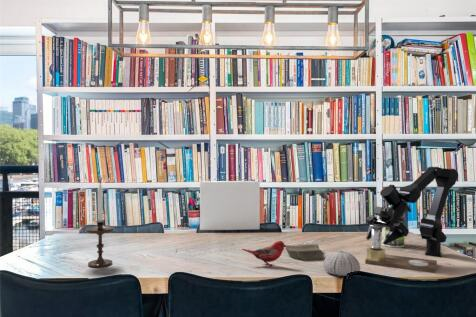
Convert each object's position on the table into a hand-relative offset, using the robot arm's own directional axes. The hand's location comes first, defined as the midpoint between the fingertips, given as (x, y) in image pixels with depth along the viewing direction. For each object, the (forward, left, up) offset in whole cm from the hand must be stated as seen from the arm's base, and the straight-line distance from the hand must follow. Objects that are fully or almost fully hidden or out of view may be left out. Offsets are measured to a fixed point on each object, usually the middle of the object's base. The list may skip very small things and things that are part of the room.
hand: (375, 241), depth 157 cm
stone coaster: (-1, +16, -7) cm, 17 cm away
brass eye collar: (0, 0, -7) cm, 7 cm away
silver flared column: (0, 0, -7) cm, 7 cm away
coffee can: (-37, +2, -9) cm, 38 cm away
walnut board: (-3, +9, -9) cm, 13 cm away
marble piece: (+3, -28, -9) cm, 30 cm away
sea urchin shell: (+20, -8, -9) cm, 24 cm away
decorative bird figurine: (+26, -37, -9) cm, 46 cm away
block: (-35, -89, -9) cm, 96 cm away
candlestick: (+57, -94, -9) cm, 111 cm away
